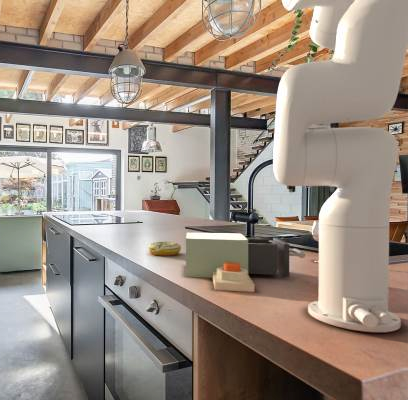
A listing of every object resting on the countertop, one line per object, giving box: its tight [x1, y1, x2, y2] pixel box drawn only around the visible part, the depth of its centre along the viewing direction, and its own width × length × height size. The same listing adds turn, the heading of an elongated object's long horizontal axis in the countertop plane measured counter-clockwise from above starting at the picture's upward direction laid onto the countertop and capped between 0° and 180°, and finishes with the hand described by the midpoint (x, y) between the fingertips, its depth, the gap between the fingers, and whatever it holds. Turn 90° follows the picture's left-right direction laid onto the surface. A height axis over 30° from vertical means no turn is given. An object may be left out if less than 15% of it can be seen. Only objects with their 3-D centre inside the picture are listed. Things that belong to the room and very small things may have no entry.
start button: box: [224, 262, 240, 272], centre depth 80 cm, size 4×4×2 cm
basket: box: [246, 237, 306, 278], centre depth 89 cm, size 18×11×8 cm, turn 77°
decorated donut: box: [148, 240, 182, 257], centre depth 120 cm, size 10×11×4 cm
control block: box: [211, 267, 255, 293], centre depth 80 cm, size 10×8×4 cm
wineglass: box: [311, 220, 319, 264], centre depth 104 cm, size 6×6×12 cm
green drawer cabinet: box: [185, 232, 248, 279], centre depth 92 cm, size 15×13×10 cm
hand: (312, 192), depth 90 cm, fingers open, 9 cm apart
